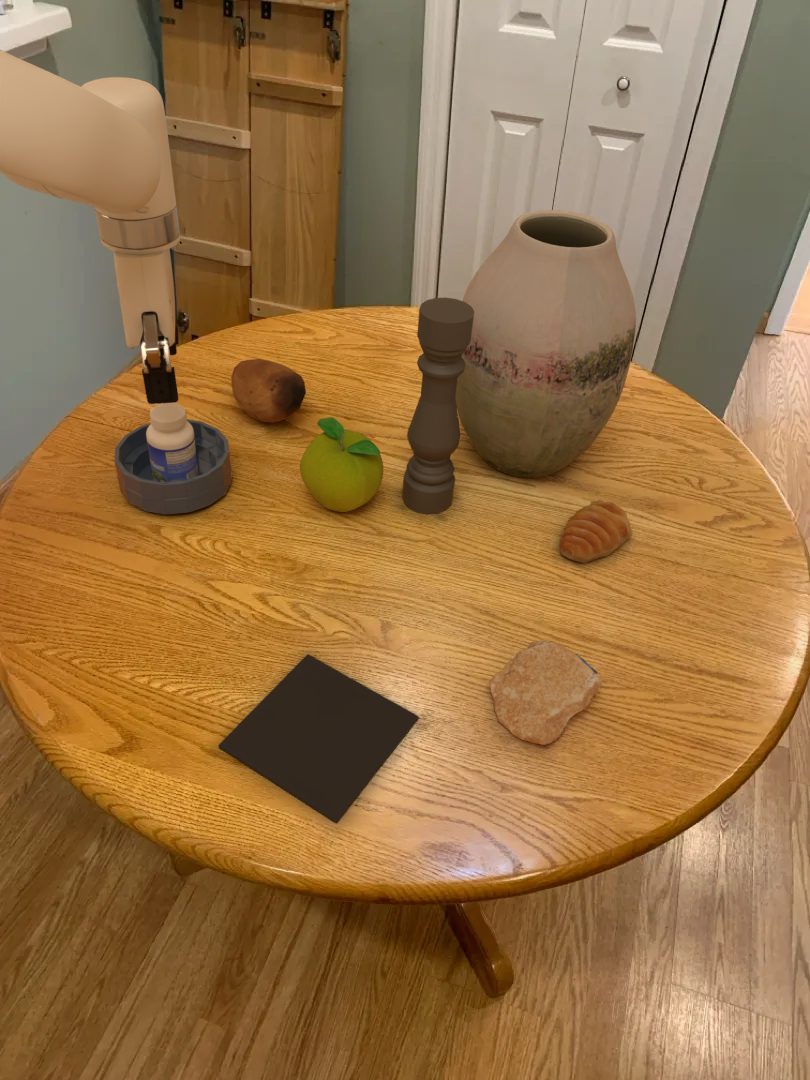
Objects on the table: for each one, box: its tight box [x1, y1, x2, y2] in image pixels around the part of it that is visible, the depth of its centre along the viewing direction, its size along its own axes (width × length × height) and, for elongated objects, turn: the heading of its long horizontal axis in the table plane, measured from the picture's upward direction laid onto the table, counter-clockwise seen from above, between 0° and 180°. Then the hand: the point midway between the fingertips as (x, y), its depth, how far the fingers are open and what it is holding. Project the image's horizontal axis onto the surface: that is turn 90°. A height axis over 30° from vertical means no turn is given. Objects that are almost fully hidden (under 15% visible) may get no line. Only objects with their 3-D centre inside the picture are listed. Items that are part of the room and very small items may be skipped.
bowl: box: [114, 418, 233, 515], centre depth 101 cm, size 13×13×5 cm
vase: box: [455, 209, 637, 479], centre depth 102 cm, size 21×21×30 cm
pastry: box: [559, 499, 633, 564], centre depth 98 cm, size 9×7×4 cm
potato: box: [230, 358, 307, 423], centre depth 112 cm, size 8×14×8 cm
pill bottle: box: [146, 402, 199, 482], centre depth 99 cm, size 5×5×10 cm
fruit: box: [299, 416, 384, 513], centre depth 99 cm, size 9×9×10 cm
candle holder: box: [401, 297, 474, 515], centre depth 95 cm, size 6×6×25 cm
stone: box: [489, 639, 603, 746], centre depth 80 cm, size 8×10×4 cm
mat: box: [218, 653, 419, 825], centre depth 77 cm, size 13×13×1 cm
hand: (163, 377), depth 93 cm, fingers open, 9 cm apart
